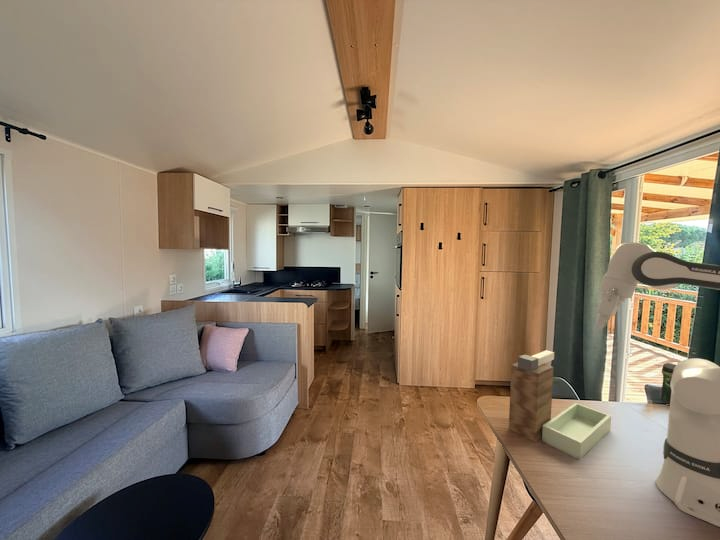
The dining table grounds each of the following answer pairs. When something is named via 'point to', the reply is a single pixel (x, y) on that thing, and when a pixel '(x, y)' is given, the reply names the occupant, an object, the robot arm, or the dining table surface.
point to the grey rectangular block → (534, 360)
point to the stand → (530, 400)
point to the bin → (576, 430)
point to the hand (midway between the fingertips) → (600, 327)
